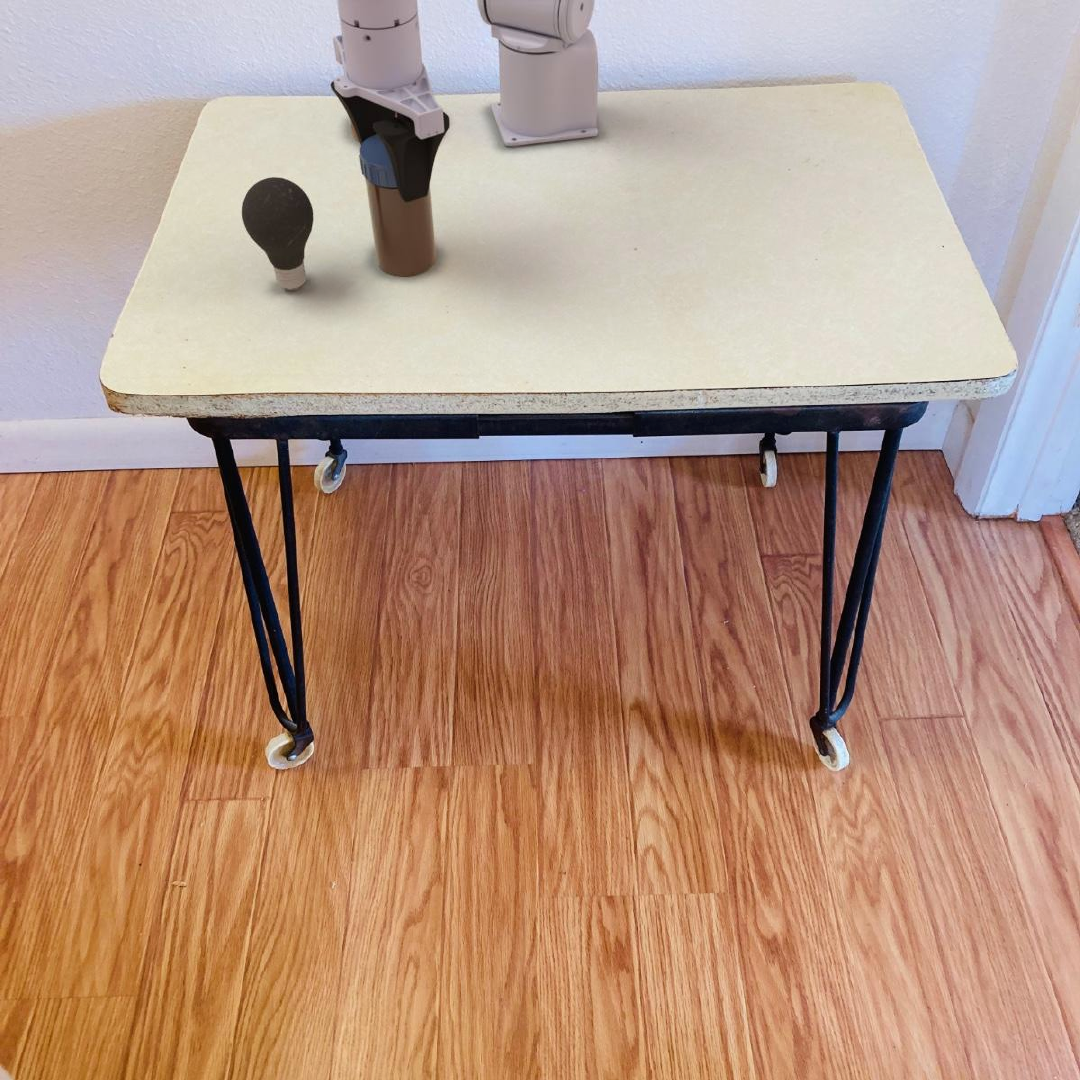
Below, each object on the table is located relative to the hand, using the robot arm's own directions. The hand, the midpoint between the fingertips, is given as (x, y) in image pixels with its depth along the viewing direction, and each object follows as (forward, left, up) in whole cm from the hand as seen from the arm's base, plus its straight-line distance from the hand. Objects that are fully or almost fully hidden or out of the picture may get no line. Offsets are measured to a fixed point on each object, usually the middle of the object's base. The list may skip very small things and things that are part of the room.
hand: (397, 179), depth 89 cm
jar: (0, 0, -8) cm, 8 cm away
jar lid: (0, 0, +2) cm, 2 cm away
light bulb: (+10, +2, -8) cm, 13 cm away
